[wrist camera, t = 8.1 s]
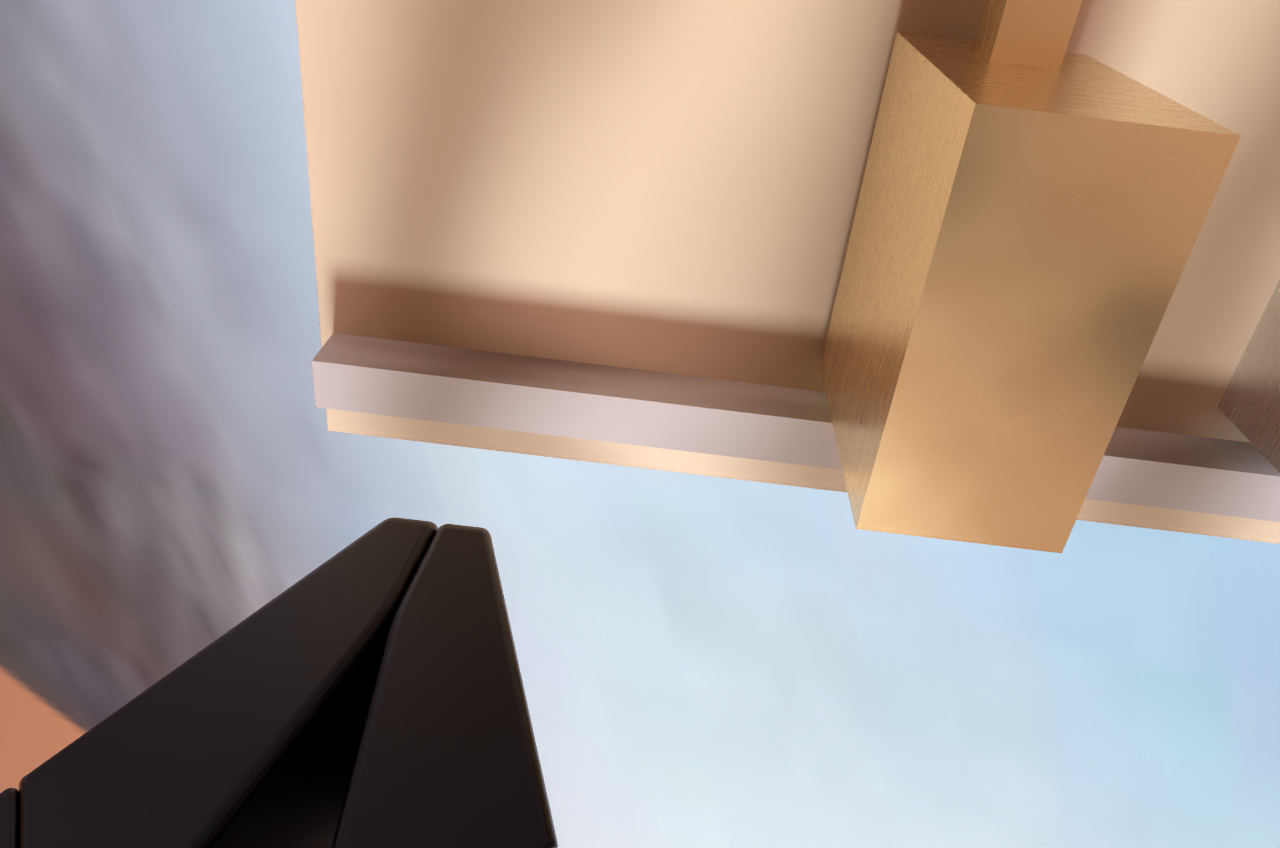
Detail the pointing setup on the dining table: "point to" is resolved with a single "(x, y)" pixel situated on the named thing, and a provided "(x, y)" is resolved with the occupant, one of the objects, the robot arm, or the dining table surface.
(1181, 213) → the sliding jaw
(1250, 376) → the fixed jaw
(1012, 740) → the dining table surface
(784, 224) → the marking board
